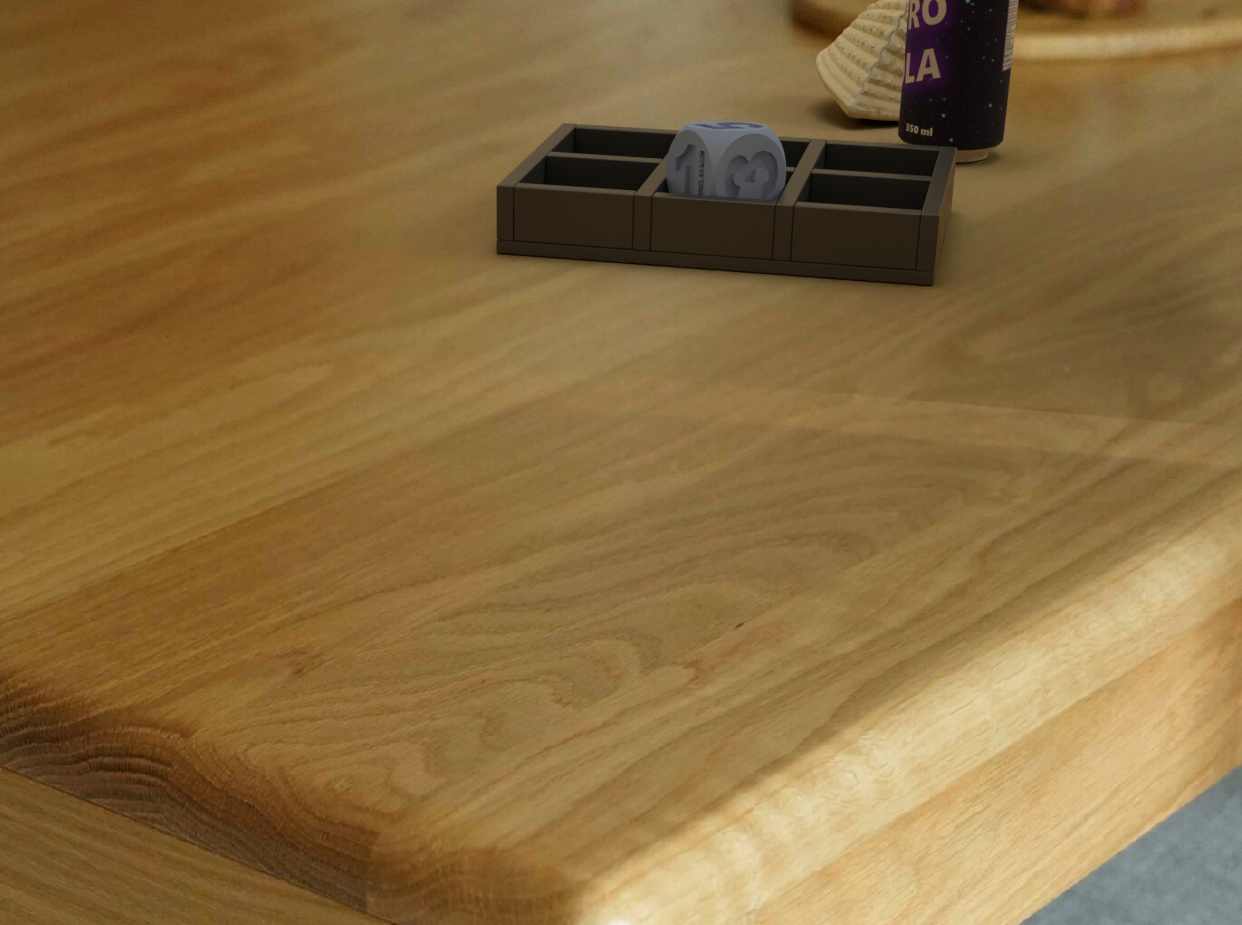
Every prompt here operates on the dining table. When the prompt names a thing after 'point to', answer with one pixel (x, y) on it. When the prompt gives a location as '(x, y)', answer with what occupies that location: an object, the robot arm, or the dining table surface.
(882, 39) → the seashell
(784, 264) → the grid
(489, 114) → the dining table surface
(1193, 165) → the dining table surface
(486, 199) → the dining table surface
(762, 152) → the decorative dice
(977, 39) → the beverage can
